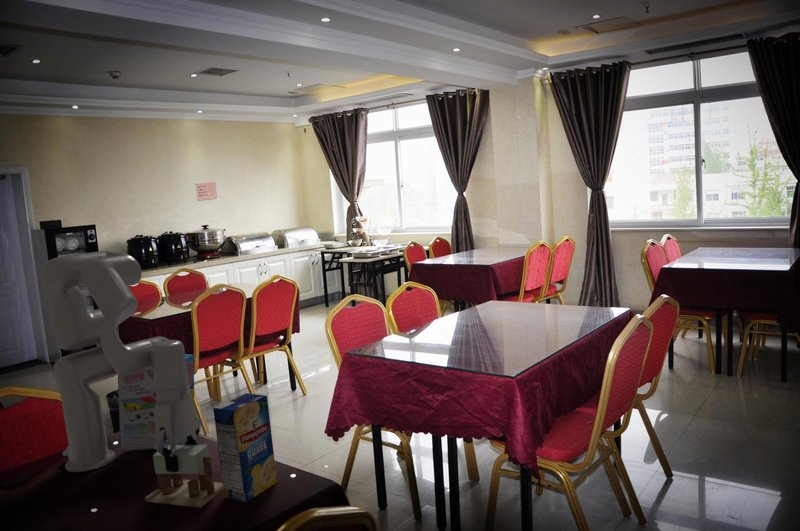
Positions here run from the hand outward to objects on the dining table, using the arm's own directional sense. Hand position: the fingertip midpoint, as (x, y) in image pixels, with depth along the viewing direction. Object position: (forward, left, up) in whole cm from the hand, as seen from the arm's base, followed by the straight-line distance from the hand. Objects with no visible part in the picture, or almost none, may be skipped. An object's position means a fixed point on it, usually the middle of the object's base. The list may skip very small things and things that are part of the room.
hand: (182, 463), depth 150 cm
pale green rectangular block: (0, 0, -1) cm, 1 cm away
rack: (0, 0, -8) cm, 8 cm away
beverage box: (+15, +5, -8) cm, 18 cm away
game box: (-28, +22, -7) cm, 36 cm away
